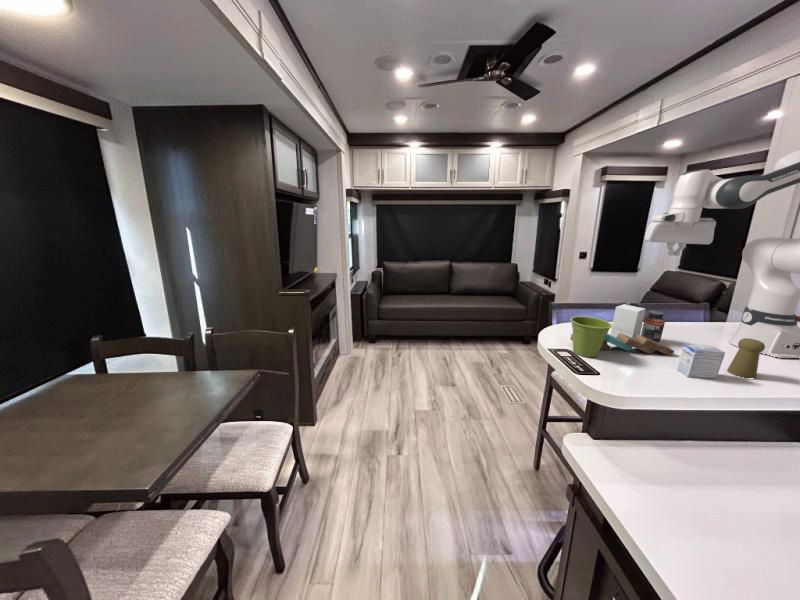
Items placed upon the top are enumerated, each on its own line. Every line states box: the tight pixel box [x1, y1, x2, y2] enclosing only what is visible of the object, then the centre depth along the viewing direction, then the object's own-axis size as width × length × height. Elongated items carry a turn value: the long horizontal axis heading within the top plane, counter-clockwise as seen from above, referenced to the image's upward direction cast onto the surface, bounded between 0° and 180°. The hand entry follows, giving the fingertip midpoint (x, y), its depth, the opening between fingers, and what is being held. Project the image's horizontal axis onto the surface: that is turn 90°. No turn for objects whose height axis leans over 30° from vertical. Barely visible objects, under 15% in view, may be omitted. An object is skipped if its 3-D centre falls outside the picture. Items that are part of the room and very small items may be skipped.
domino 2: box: [600, 343, 611, 351], centre depth 112 cm, size 2×5×10 cm
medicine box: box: [676, 344, 726, 379], centre depth 92 cm, size 8×4×9 cm, turn 84°
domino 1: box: [569, 333, 608, 347], centre depth 111 cm, size 2×5×10 cm
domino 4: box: [616, 333, 656, 355], centre depth 108 cm, size 2×5×10 cm
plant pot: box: [570, 315, 613, 358], centre depth 104 cm, size 12×12×11 cm
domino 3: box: [604, 333, 633, 352], centre depth 109 cm, size 2×5×10 cm
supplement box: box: [609, 303, 647, 339], centre depth 117 cm, size 7×7×13 cm
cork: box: [726, 338, 765, 379], centre depth 93 cm, size 6×6×11 cm
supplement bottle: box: [640, 310, 666, 343], centre depth 117 cm, size 6×6×11 cm
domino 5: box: [634, 334, 675, 357], centre depth 108 cm, size 2×5×10 cm
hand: (673, 255), depth 118 cm, fingers closed
